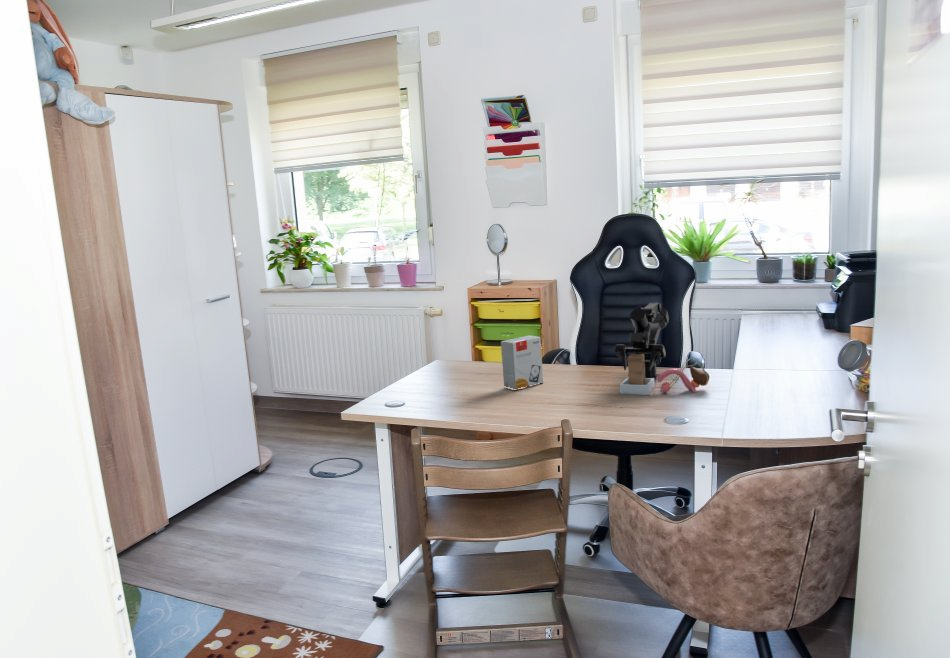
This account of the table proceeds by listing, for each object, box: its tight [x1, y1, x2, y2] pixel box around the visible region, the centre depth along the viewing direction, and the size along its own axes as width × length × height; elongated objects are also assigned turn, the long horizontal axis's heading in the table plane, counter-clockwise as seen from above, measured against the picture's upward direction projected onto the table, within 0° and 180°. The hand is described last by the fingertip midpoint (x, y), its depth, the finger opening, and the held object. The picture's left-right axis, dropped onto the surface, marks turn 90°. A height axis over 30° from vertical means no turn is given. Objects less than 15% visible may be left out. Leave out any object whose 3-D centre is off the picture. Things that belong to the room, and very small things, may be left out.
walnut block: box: [627, 353, 646, 385], centre depth 261 cm, size 5×5×13 cm
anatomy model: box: [656, 356, 711, 394], centre depth 255 cm, size 11×15×17 cm
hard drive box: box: [500, 335, 544, 389], centre depth 283 cm, size 16×8×20 cm, turn 126°
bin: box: [619, 377, 656, 396], centre depth 262 cm, size 11×11×4 cm
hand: (636, 369), depth 261 cm, fingers open, 9 cm apart
